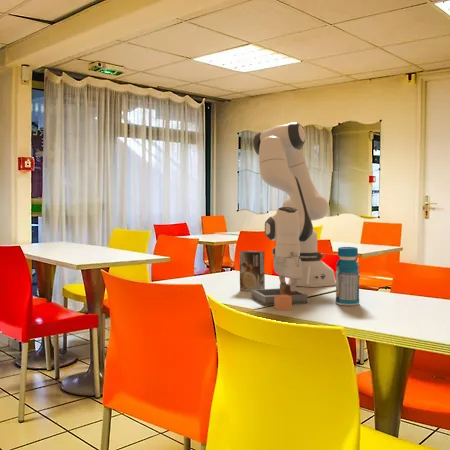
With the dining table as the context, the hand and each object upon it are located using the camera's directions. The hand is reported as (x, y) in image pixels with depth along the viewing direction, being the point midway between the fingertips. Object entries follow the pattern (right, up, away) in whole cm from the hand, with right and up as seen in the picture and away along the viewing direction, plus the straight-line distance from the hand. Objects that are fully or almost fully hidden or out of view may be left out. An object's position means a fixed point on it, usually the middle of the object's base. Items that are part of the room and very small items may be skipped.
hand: (287, 288), depth 199 cm
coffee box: (-12, -3, +21) cm, 24 cm away
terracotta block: (-4, -5, -16) cm, 17 cm away
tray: (-3, -4, -1) cm, 5 cm away
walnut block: (0, -3, 0) cm, 3 cm away
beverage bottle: (+20, -5, -8) cm, 22 cm away
